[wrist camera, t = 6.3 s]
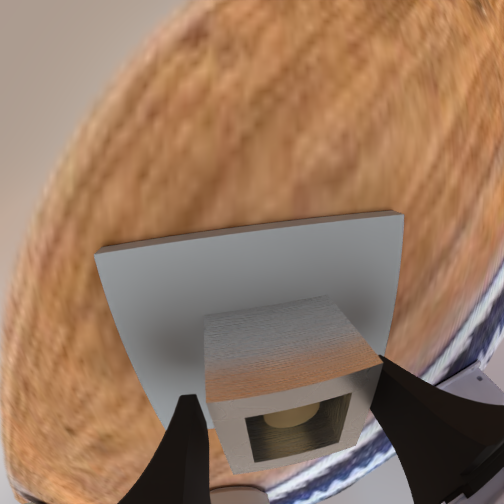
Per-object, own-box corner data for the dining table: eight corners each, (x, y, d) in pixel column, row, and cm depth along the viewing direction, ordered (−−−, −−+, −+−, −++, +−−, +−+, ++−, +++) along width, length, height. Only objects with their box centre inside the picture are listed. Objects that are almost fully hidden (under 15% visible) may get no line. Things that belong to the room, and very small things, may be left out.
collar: (327, 294, 12) (383, 362, 8) (321, 378, 14) (355, 445, 9) (203, 314, 12) (205, 403, 7) (223, 397, 13) (233, 474, 9)
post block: (392, 210, 12) (464, 237, 8) (368, 381, 16) (401, 430, 12) (101, 247, 11) (48, 299, 6) (167, 419, 15) (164, 482, 10)
